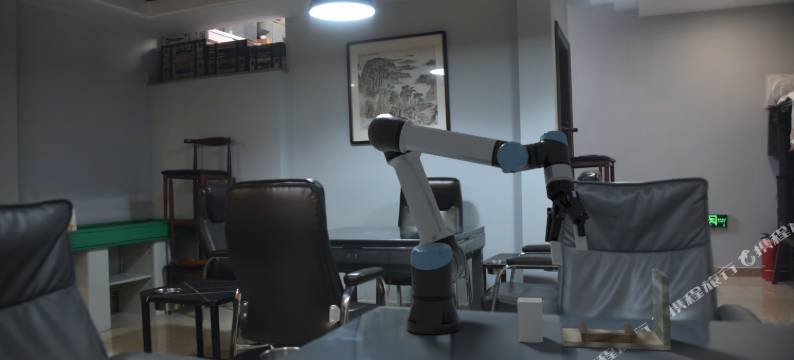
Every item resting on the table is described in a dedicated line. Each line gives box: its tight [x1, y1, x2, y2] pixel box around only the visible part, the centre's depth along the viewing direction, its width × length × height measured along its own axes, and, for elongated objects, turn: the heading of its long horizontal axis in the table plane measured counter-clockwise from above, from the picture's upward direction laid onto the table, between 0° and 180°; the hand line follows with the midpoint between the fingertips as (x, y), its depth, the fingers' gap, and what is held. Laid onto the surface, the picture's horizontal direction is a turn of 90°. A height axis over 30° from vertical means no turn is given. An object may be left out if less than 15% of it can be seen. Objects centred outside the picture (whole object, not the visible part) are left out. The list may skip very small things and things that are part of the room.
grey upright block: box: [516, 297, 544, 343], centre depth 147 cm, size 6×6×10 cm
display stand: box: [561, 268, 672, 351], centre depth 143 cm, size 24×13×17 cm, turn 75°
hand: (569, 257), depth 151 cm, fingers open, 13 cm apart
